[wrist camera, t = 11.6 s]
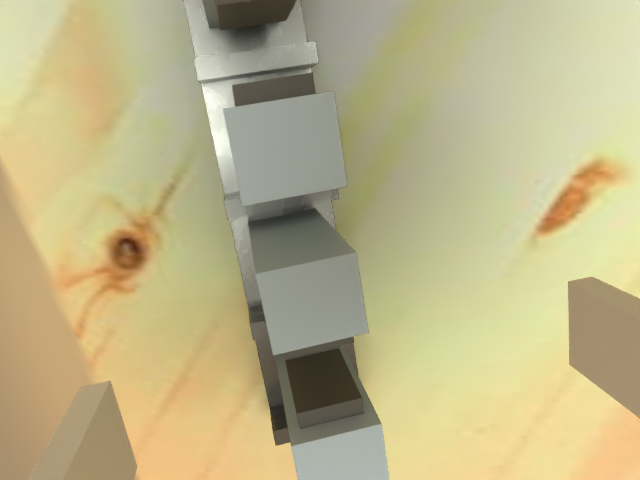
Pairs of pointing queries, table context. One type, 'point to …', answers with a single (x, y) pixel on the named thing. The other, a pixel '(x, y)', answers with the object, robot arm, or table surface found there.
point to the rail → (217, 79)
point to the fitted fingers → (283, 182)
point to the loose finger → (307, 283)
